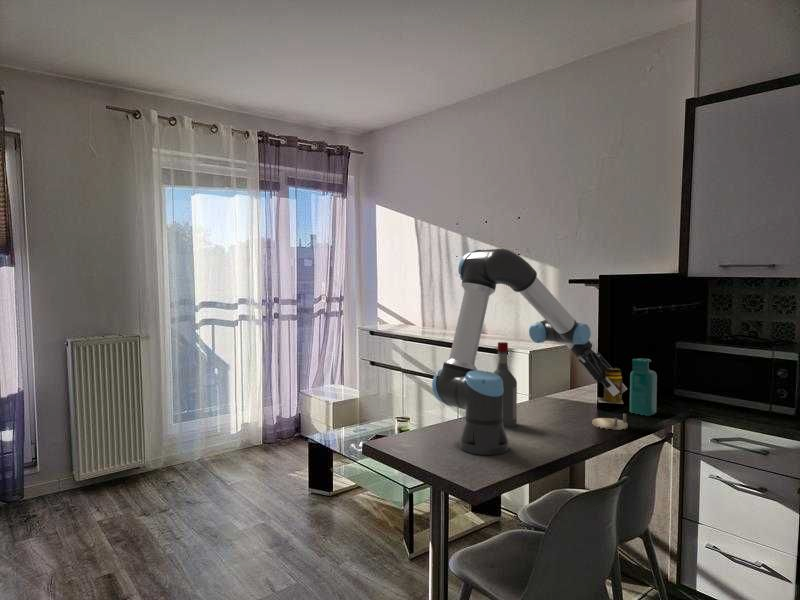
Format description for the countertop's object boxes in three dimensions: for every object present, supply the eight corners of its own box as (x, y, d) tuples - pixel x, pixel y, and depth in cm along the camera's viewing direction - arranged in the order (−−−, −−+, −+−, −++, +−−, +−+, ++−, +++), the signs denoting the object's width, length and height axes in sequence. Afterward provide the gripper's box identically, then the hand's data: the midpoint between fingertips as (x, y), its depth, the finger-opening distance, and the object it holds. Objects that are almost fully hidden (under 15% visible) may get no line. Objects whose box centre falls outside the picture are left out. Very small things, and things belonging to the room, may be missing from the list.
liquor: (510, 420, 198) (511, 341, 197) (518, 427, 189) (518, 344, 188) (486, 421, 197) (487, 341, 196) (492, 427, 188) (493, 344, 187)
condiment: (624, 404, 187) (624, 370, 187) (598, 402, 189) (599, 369, 189) (621, 399, 194) (621, 367, 194) (596, 398, 196) (597, 366, 196)
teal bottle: (635, 409, 216) (636, 356, 216) (657, 413, 210) (658, 358, 210) (626, 413, 209) (627, 358, 209) (648, 417, 203) (649, 360, 203)
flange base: (599, 429, 186) (599, 418, 186) (587, 421, 198) (587, 410, 198) (633, 430, 186) (633, 418, 186) (619, 421, 198) (619, 410, 198)
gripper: (583, 347, 209) (624, 394, 198) (559, 352, 196) (601, 403, 184) (596, 335, 205) (638, 382, 194) (572, 339, 192) (616, 390, 181)
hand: (620, 392), depth 189 cm, fingers closed on condiment, 6 cm apart
